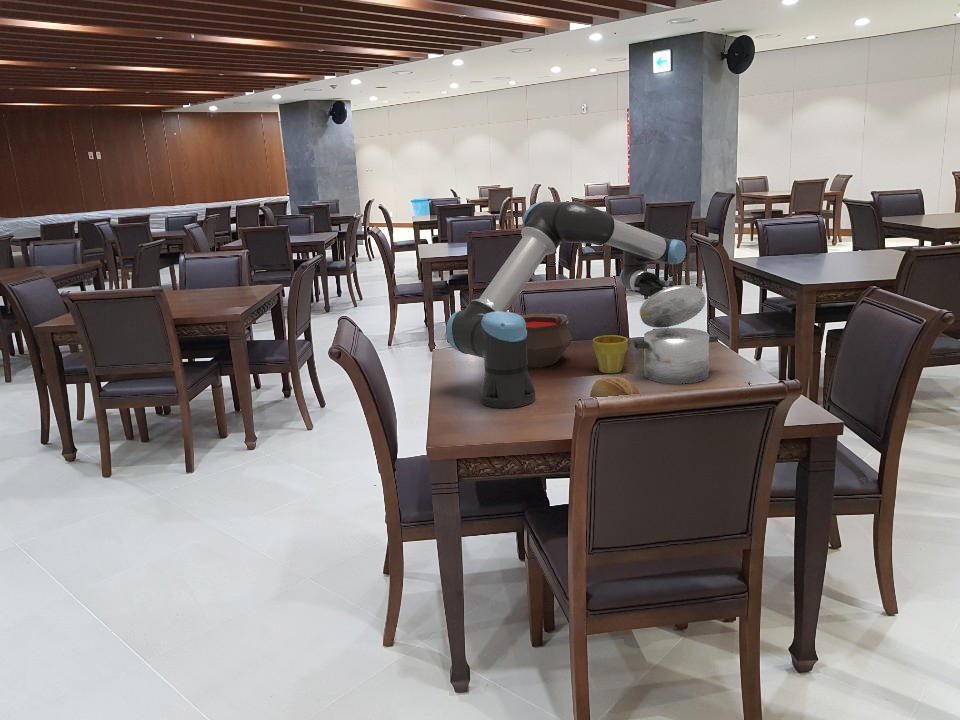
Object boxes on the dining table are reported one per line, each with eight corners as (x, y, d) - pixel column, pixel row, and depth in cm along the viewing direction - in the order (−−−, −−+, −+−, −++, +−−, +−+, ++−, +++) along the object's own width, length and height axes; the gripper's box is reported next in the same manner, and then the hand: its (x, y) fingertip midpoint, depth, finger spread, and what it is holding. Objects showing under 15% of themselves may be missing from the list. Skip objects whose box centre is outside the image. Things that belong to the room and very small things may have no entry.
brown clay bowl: (483, 363, 236) (480, 314, 232) (535, 348, 251) (533, 302, 247) (536, 376, 218) (534, 323, 214) (588, 359, 234) (587, 309, 229)
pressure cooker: (647, 387, 201) (647, 345, 198) (622, 368, 221) (622, 330, 218) (729, 379, 204) (730, 337, 201) (697, 361, 224) (698, 323, 221)
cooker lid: (650, 292, 200) (647, 282, 202) (634, 330, 216) (631, 320, 218) (714, 287, 202) (710, 276, 204) (693, 324, 218) (690, 314, 220)
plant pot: (627, 375, 214) (627, 343, 212) (592, 375, 216) (591, 343, 214) (628, 365, 224) (628, 334, 221) (594, 365, 226) (593, 335, 223)
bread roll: (625, 419, 179) (625, 387, 177) (580, 406, 190) (579, 376, 188) (650, 409, 184) (650, 379, 182) (604, 397, 196) (604, 368, 194)
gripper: (665, 293, 236) (697, 305, 214) (624, 296, 234) (652, 309, 212) (665, 270, 234) (697, 280, 212) (624, 273, 232) (652, 283, 210)
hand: (674, 295), depth 212 cm, fingers closed
